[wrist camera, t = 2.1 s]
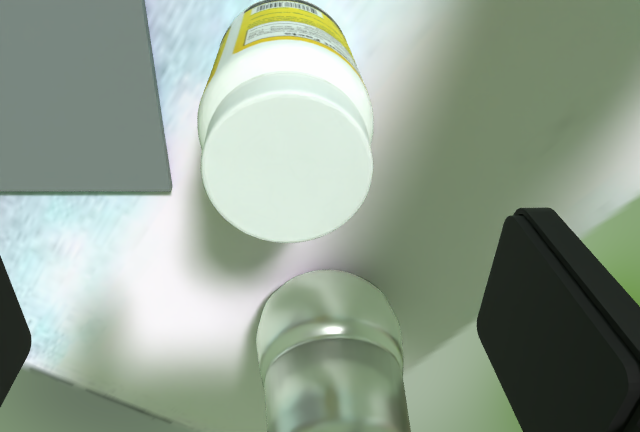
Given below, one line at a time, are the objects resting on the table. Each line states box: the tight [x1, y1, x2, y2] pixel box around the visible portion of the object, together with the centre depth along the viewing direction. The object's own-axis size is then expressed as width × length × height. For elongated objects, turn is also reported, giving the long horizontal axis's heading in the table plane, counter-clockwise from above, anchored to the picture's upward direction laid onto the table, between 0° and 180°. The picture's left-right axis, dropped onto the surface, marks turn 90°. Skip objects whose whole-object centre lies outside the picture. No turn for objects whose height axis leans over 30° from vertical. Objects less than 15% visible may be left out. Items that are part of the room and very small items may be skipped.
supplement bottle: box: [197, 0, 374, 243], centre depth 15 cm, size 5×5×8 cm
